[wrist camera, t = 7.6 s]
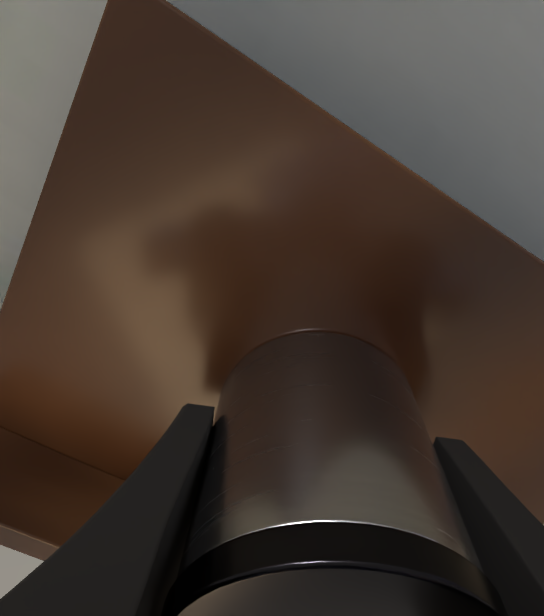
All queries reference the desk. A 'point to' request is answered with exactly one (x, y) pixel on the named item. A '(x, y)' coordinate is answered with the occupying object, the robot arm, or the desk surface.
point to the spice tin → (325, 496)
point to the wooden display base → (237, 274)
